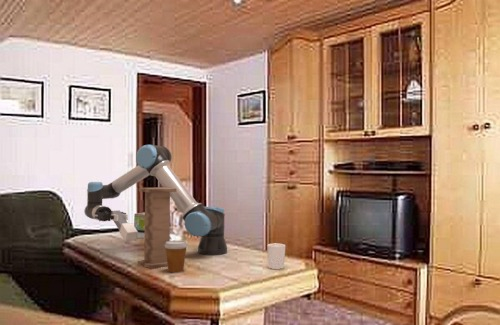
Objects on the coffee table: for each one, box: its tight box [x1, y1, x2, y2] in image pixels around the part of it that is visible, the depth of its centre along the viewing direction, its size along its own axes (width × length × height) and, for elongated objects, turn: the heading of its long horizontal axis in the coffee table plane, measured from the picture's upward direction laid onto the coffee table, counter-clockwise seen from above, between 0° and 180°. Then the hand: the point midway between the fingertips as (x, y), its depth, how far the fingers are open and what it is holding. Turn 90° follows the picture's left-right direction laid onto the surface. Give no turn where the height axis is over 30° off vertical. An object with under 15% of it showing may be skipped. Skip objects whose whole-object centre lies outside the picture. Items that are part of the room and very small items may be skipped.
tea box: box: [133, 211, 145, 240], centre depth 280 cm, size 15×10×15 cm, turn 159°
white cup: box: [267, 242, 286, 270], centre depth 200 cm, size 8×8×10 cm
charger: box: [111, 210, 138, 242], centre depth 215 cm, size 20×5×5 cm, turn 40°
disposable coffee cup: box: [165, 240, 188, 273], centre depth 192 cm, size 10×10×12 cm
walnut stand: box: [137, 186, 176, 270], centre depth 203 cm, size 12×12×34 cm
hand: (122, 217), depth 216 cm, fingers closed on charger, 4 cm apart
